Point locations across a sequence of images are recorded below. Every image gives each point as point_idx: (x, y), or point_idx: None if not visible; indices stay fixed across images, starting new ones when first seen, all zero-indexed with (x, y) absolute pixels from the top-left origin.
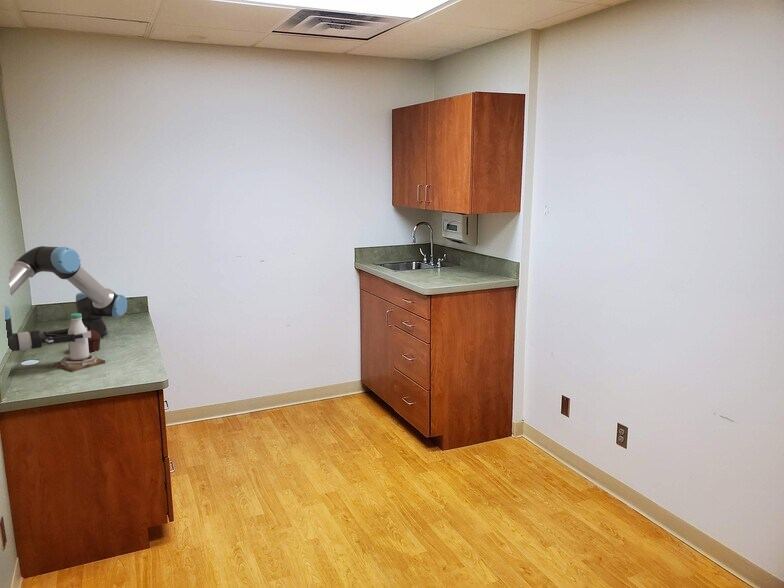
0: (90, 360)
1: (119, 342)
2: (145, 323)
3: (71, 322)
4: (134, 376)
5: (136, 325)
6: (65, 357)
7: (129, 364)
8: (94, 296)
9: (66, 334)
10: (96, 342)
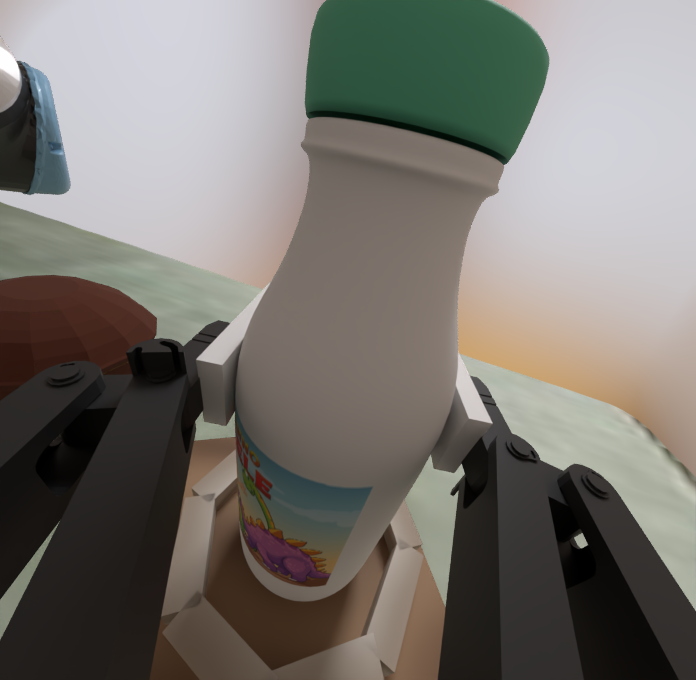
0: None
1: (140, 303)
2: (50, 220)
3: (415, 252)
4: (580, 435)
5: (31, 227)
6: (182, 625)
7: None
8: None
9: (184, 467)
10: None
